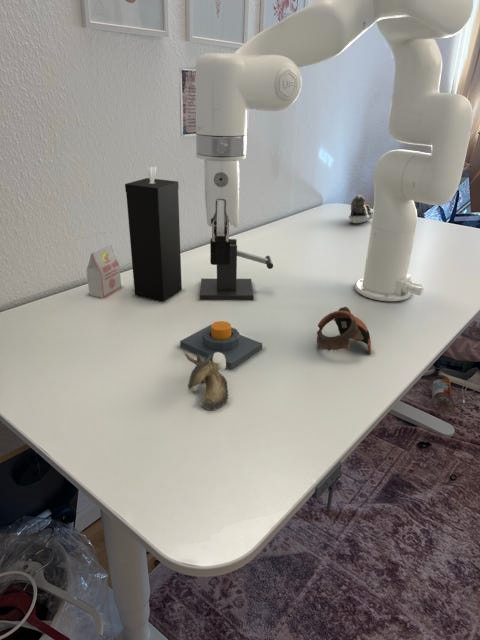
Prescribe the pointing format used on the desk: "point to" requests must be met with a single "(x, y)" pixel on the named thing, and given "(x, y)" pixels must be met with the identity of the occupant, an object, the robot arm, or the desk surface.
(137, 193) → the black tall block
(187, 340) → the control block
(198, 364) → the furry animal figurine
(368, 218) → the bison figurine
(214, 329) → the warm button
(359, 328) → the brown curved open piece
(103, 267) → the strawberry milk carton
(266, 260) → the switch lever
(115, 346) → the desk surface
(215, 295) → the lever press stand
